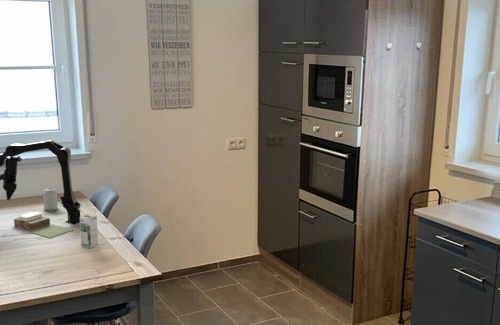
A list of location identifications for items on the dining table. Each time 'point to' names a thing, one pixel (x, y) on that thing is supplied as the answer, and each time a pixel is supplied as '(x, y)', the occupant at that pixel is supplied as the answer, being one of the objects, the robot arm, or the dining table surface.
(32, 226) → the brown flat block
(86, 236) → the syrup box
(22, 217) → the cream chamfered block
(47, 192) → the can
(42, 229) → the mat
